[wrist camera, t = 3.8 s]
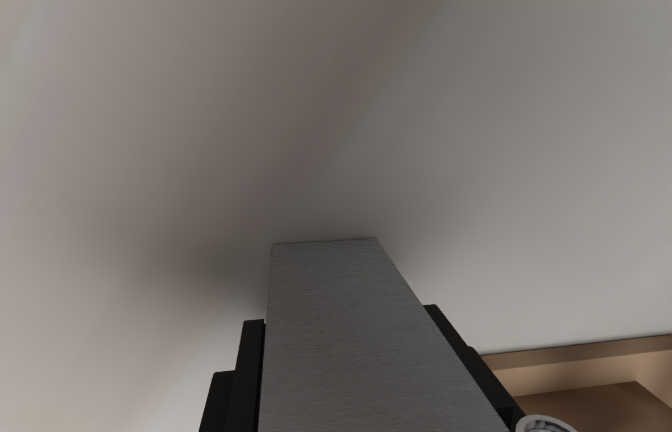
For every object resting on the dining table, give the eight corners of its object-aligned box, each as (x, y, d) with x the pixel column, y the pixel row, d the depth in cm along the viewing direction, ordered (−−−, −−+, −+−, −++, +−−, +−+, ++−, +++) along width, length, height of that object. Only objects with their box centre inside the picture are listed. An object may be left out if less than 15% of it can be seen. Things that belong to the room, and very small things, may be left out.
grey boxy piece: (376, 213, 14) (764, 669, 3) (373, 347, 16) (603, 962, 4) (270, 219, 14) (206, 806, 2) (279, 356, 15) (271, 1075, 4)
